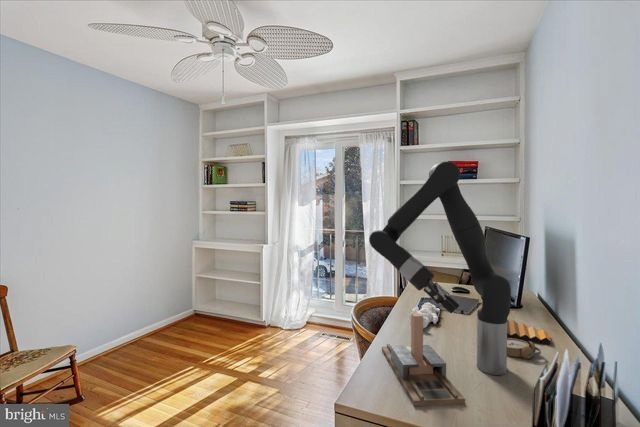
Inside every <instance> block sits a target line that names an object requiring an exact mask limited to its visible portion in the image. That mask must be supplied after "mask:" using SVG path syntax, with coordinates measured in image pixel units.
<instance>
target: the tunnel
mask: <svg viewBox="0 0 640 427" xmlns="http://www.w3.org/2000/svg"><path fill="white" fill-rule="evenodd" d="M390 346H391V361H392V362H393V364H394V366H395V367H396V369H397V371H398V372H399V374H400V376H401V377H402V379H403V380H408V368H414V367H419V364H418V363H417V361H416V360H415V359H414V357H413V356H412V355H411V353H410V352H409V351H408V349H407V348H406V347H405V346H406V345H390ZM423 358H424V359H425V360H426V361H427V363H428V364H429V365H430V366H431V367H435V368H436V370H437V371H438V372H439V373H440V374H441V376H442V377H443V378H444V379H446V377H447V362H446V361H445V360H444V359H443V358H442V357H441V356H440V355H439V353H437V352H436V350H434V349H433V347H432V346H431V345H430V344H423Z"/></svg>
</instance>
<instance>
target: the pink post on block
mask: <svg viewBox="0 0 640 427" xmlns="http://www.w3.org/2000/svg"><path fill="white" fill-rule="evenodd" d="M410 315H411V325H410V330H411V332H410V338H411V339H410V341H411V342H410V346H411V355H412V356H413V357H414V359H415V360H416V361H417V363H418V364H419V367H414V368H408V373H409V375H418V374H433V367H431V366H430V365H429V364H428V363H427V361H426V360H425V359H424V358H423V345H424V328H423V315H421V314H420V313H411V314H410Z"/></svg>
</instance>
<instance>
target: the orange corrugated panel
mask: <svg viewBox="0 0 640 427" xmlns="http://www.w3.org/2000/svg"><path fill="white" fill-rule="evenodd" d="M507 338H514V339H519V340H523V341H525V342H527V343H528V341H531V342H533V343H534V344H540V342H541V344H542V345H547V346H550V345H551V344H552V340H551V337H550V336H549V333H548V332H547V331H546V330H544V329H540V330H538V329H537V328H535V327H534V326H530V327H528V325H526V324H524V323H520V324H519V323H518V322H516V321H515V320H508V319H507Z"/></svg>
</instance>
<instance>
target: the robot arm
mask: <svg viewBox="0 0 640 427" xmlns="http://www.w3.org/2000/svg"><path fill="white" fill-rule="evenodd" d="M460 178H461V171H460V167H459V166H458V164H456V163H454V162H452V161H442V162H438V163H436V164H435V165H433V166H431V168H430V170H429V172H428V178H427V180H426V181H425V183H424V184H423V185H422V186H421V187H420V188H419V189H418V190H417V191H416V192H415V193H414V194H412V195H411V197H409V198H408V199H407V200H406V201H404V203H402V204H401V205H400V206H399V207H398V209H396V210H395V212H394V213H393V214H392V215H391V216H390V217H389V219H387V224H386V225H385V226H384V227H383V228H382V230H379V229H378V230H374V231H372V232H371V233H370V235H369V238H368V241H369V244H370V246H371V248H372V249H373V250H374V251H376V252H377V253H379V254H380V255H381V256H382V257H383V258H385V259H386V260H387V261H388V262H389V263H390V264H391V265H392V266H393V267H394V268H395V269H396V270H397V271H398V272H399V273H400V274H401V275H402V276H403V278H405V279H406V280H407V281H408V282H409V283H410V284H411V285H412V286H413V287H414V288H415V289H416V290H418V291H419V292H420V291H422V290H423V291H424V293H426V294H427V296H429V297H430V298H431V299H432V301H433V300H434V301H435V302H436V303H437V304H440V305H441V304H442V306H443V307H444V308H445V309H447V310H448V311H447V312H449V313H450V314H453V313H455V312H454V311H455V310H456V309H457V308H458V307H459V304H458V303H457V302H456V301H455V300H453V299H452V298H451V296H450V295H451V294H450V292H448V291H447V290H446V289H445V288H444V287H442V286H441V285H440V284H439V282H437V281H435V282H434V281H432V279H434V277H435V274H434V273H433V272H432V270H430V269H429V268H428V267H427V266H426V265H425V264H423V263H422V262H421V260H419V259H417V258H416V257H414V256H413V255H412V254H411V253H410V252H409V251H408V250H407V249H405V248H404V247H402V246H400V245H399V244H398V243H397V241H398V240H399V239H400V238H401V236H402V234H403V233H404V232H406V230H407V229H408V228H409V227H410V226H411V225H412V224H413V223H414V222H416V220H417V219H418V218H419V217H420V216H421V215H422V214H423V212H424V211H426V209H427V208H428V207H429V206H430V205H432V203H434V201H436V200H437V199H438V198H439V200H440V202H441V204H442V207H443V210H444V213H445V216H446V219H447V222H448V225H449V227H450V229H451V232H452V234H453V237H454V239H455V241H456V243H457V245H458V248H459V250H460V251H461V252H460V253H461V255H462V257H463V258H464V260H465V262H466V265H467V267H468V271H469V274H470V277H471V281H472V284H473V287H474V290H475V292H477V294H478V295H479V296H481V297H482V303H481V307H480V308H479V309H477V313H476V316H477V317H476V367H477V369H479V371H481V372H484V373H486V374H489V375H492V376H493V375H495V376H501V375H502V376H503V375H505V374H507V370H508V355H507V320H508V317H509V316H510V313H511V298H512V291H511V290H512V288H511V285H510V282H509V281H508V279H507V278H505V277H503V276H501V275H499V274H497V273H496V272H495V271H494V269H493V267H492V265H491V264H490V261H489V259H488V256H487V250H486V237H485V233H484V231H483V229H482V226H481V224H480V221H479V219H478V218H477V215H476V214H475V213H474V211H473V209H472V208H471V207H470V205H469V203H467V201H466V199H465V198H464V196H463V195H462V193H461V190H460V187H459V183H458V182H460Z"/></svg>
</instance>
